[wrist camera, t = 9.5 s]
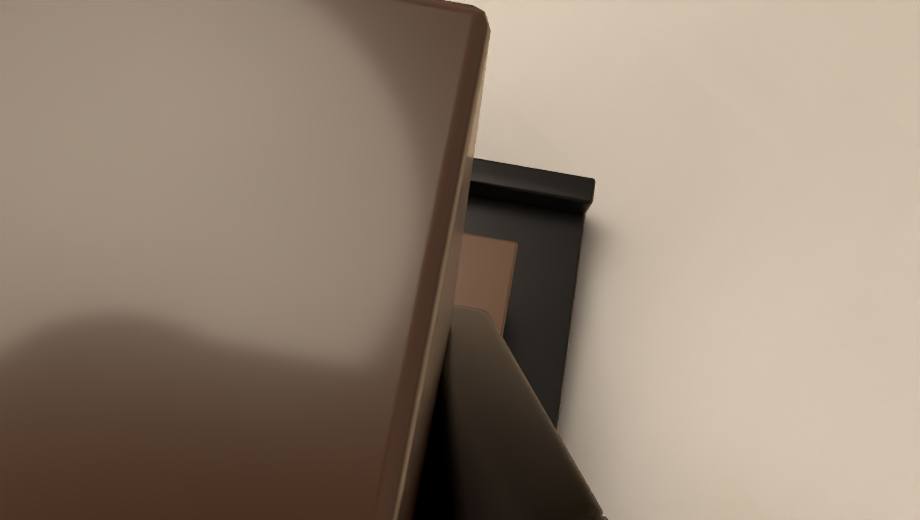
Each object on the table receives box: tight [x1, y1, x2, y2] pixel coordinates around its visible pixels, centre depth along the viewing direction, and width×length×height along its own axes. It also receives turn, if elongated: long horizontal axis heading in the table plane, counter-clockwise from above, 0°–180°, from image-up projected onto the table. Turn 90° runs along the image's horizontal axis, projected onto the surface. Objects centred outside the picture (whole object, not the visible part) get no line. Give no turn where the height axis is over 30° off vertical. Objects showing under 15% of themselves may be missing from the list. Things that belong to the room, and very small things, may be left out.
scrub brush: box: [0, 0, 518, 520], centre depth 9 cm, size 8×4×14 cm, turn 170°
